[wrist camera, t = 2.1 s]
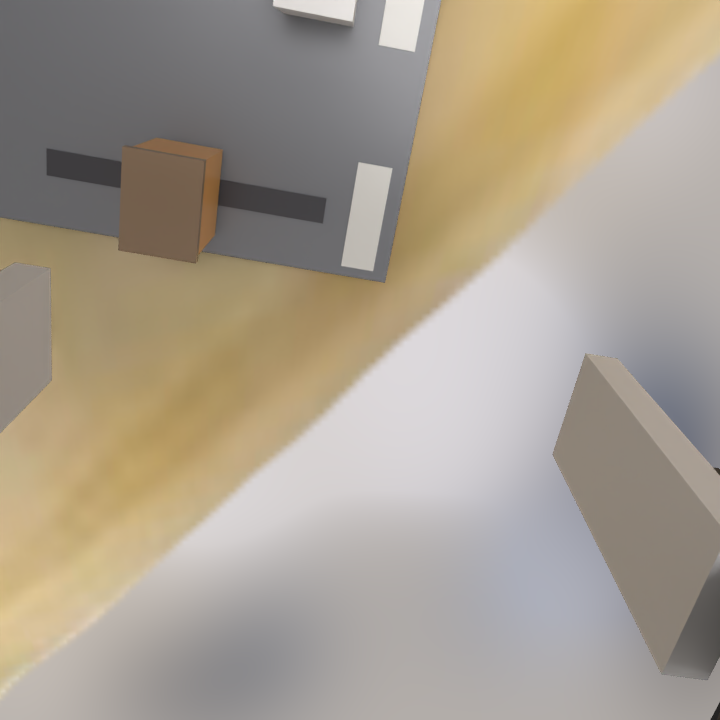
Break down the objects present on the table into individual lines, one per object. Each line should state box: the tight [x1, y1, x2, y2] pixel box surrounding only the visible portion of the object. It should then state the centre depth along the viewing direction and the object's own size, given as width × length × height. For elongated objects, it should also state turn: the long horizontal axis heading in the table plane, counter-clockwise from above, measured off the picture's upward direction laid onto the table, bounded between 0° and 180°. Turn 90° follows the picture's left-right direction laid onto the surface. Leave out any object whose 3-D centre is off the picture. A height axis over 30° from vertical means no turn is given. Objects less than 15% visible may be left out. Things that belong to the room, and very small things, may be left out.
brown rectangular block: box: [118, 138, 223, 263], centre depth 30 cm, size 3×4×5 cm
